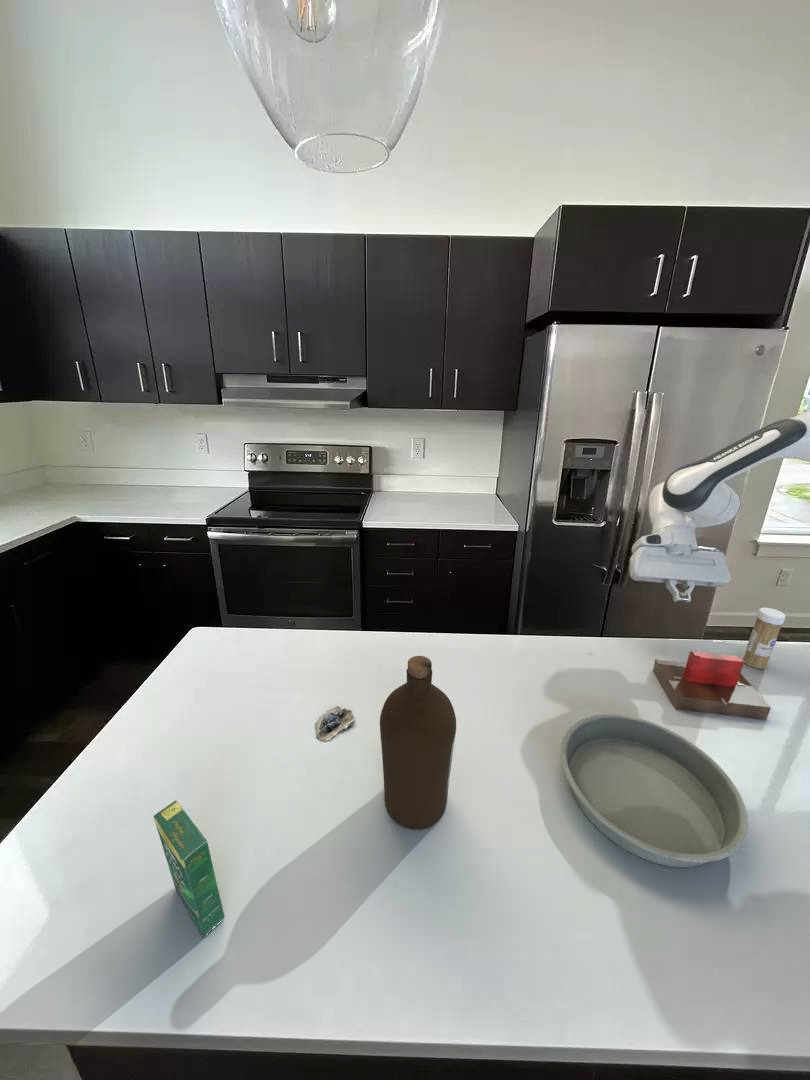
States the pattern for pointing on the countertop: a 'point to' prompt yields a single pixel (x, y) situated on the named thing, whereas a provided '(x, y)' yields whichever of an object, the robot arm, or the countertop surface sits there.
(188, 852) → the coffee box
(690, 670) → the red block
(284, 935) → the countertop surface
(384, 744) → the olive oil
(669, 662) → the base
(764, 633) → the sprinkles bottle
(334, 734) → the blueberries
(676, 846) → the cake pan
